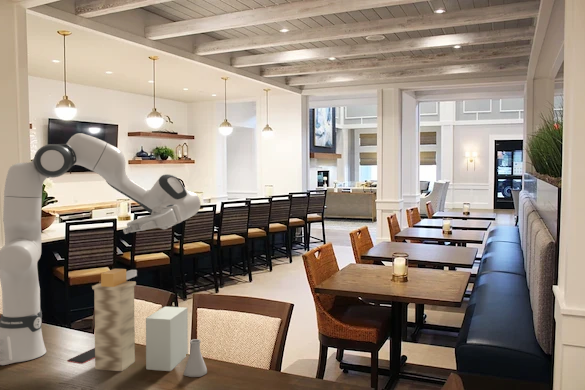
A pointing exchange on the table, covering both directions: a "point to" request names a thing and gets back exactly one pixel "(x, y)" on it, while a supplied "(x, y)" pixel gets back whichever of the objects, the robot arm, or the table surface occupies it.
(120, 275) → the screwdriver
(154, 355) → the pale green block
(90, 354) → the smartphone
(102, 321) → the high stand
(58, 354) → the table surface
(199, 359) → the flask
